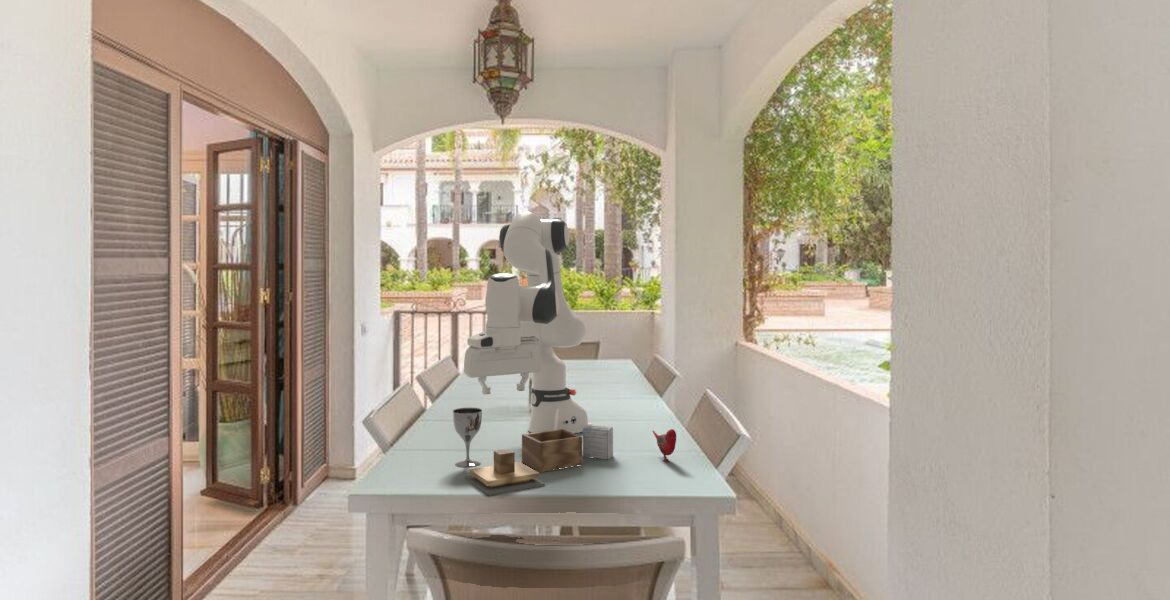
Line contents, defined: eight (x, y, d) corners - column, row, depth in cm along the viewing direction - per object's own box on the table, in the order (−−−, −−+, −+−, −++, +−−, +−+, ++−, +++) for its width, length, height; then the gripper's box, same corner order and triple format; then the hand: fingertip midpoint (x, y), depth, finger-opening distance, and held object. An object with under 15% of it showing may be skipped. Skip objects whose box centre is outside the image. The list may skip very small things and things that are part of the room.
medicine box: (613, 456, 208) (613, 426, 207) (608, 460, 204) (608, 430, 203) (587, 454, 210) (587, 424, 210) (582, 457, 206) (582, 428, 206)
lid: (519, 469, 192) (519, 443, 192) (539, 481, 182) (539, 453, 181) (469, 477, 185) (469, 449, 185) (487, 490, 175) (487, 461, 174)
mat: (517, 469, 194) (517, 467, 194) (544, 485, 180) (544, 483, 180) (464, 478, 186) (464, 475, 186) (488, 495, 173) (488, 493, 173)
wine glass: (469, 469, 194) (468, 414, 193) (447, 465, 198) (446, 411, 197) (488, 462, 201) (487, 409, 200) (466, 458, 205) (466, 406, 204)
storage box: (562, 456, 207) (562, 429, 207) (582, 465, 198) (582, 437, 197) (522, 462, 201) (522, 434, 200) (539, 472, 191) (539, 443, 191)
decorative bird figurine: (670, 467, 196) (670, 431, 196) (647, 451, 213) (648, 417, 213) (680, 467, 197) (680, 430, 196) (657, 450, 214) (657, 417, 213)
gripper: (534, 334, 190) (535, 386, 190) (461, 338, 179) (461, 394, 180) (545, 336, 184) (546, 390, 185) (470, 341, 174) (471, 398, 175)
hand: (503, 392), depth 182 cm, fingers open, 8 cm apart
